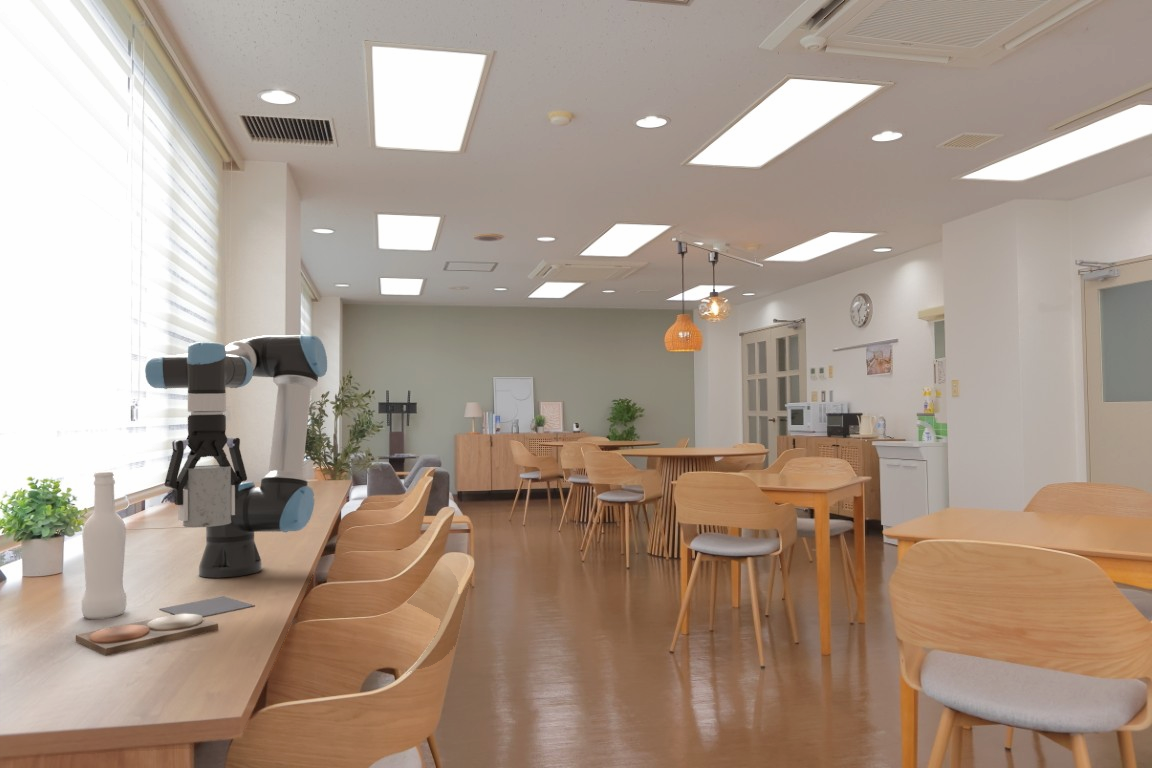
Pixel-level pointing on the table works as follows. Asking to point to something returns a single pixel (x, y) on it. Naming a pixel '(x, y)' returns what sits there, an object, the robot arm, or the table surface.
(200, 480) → the grey marbled cylinder
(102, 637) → the board
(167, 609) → the mat
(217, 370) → the robot arm
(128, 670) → the table surface
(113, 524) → the bottle
